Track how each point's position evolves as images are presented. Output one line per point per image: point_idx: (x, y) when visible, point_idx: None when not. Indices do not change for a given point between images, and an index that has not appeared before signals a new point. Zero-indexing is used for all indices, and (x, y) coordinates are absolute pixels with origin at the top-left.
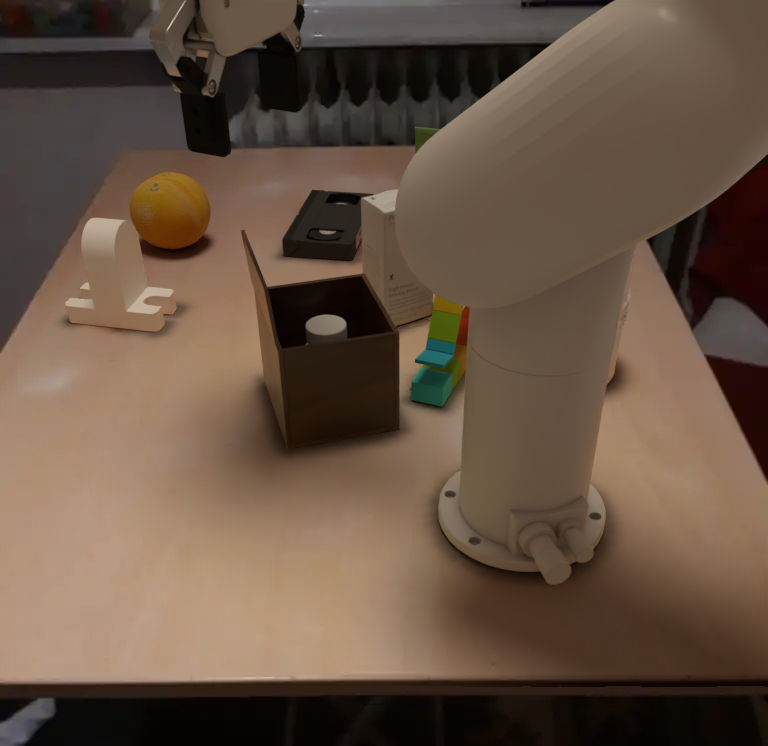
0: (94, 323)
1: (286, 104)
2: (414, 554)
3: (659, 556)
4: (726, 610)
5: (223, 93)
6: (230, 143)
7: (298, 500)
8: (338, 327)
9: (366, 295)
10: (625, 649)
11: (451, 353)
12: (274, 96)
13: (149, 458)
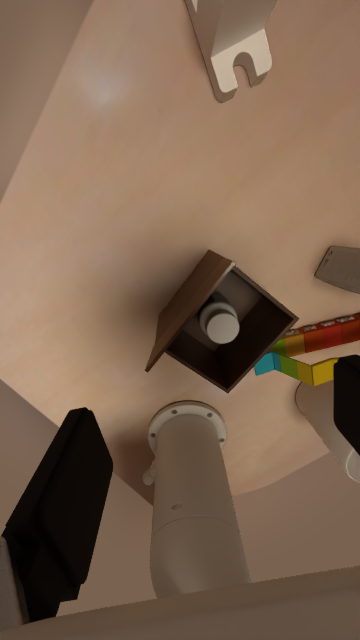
0: (192, 22)
1: (340, 416)
2: (135, 412)
3: None
4: None
5: (74, 597)
6: (110, 478)
7: (128, 349)
8: (224, 339)
9: (277, 328)
10: (145, 487)
11: (275, 368)
12: (350, 401)
13: (94, 251)
